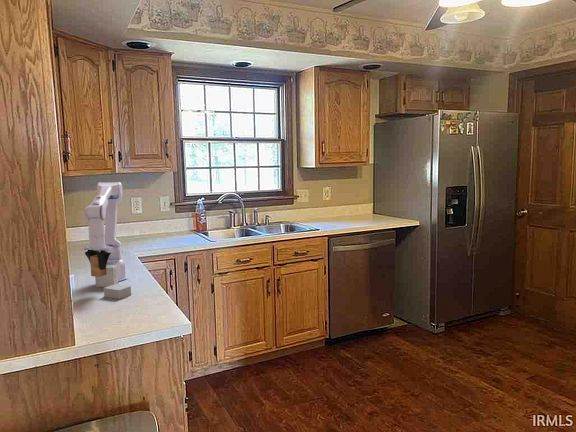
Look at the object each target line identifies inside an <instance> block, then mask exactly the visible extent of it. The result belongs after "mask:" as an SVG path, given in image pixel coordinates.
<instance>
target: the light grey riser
mask: <svg viewBox="0 0 576 432" xmlns="http://www.w3.org/2000/svg"><path fill="white" fill-rule="evenodd" d="M131 295H132V289H131V285H127V284H126V285H125V284H119V283H118V284H114V285H111V286H108V287H103V297H105V298H110V299H117V300H121V299H124V298H126V297H128V296H131Z"/></svg>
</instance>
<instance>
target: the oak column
mask: <svg viewBox="0 0 576 432" xmlns="http://www.w3.org/2000/svg"><path fill="white" fill-rule="evenodd" d="M89 264H90V276H91V277H95V276H96V277H100V276H103V275H107V273H106V269H104V270H100V266H99V260H98V257H97V255H93V256H90V261H89Z"/></svg>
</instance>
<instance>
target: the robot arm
mask: <svg viewBox="0 0 576 432" xmlns="http://www.w3.org/2000/svg"><path fill="white" fill-rule="evenodd" d="M123 189H124V188H123V184H122V182H121V181H118V182H116V181H115V182H100V181H99V182H98V183H97V185H96V193H97V195H96V196H94V197H93V200H92V201H91V204H90V205H87V206H86V207H85V209H84V210H85V211H84V212H85V213H84V214H85V215H84V216H85V219H86V224H87V225H88V226H87V227H88V241H89V244H82V250H83V251H85V252H84V255H85V256H86V258H87V259H88V261H89V262H90V256H93V255H97V257H98V260H99V266H100V270H104V269H106V265H117V276H118V282H121V281H124V280H128V277H127V276H126V264H125V262H124V260H123V256H124V255H123V251H124V250H123V244H122V242H121V241H119V240H118V239H117V224H118V223H117V222H118V221H117V220H118V208H119V207H118V206H119V204H120V203H122V202H123V194H124V193H123V192H124V190H123Z"/></svg>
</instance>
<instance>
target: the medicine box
mask: <svg viewBox="0 0 576 432" xmlns="http://www.w3.org/2000/svg"><path fill="white" fill-rule="evenodd" d="M106 273H107V275H103V276H100V277H96V276H94V277H95V281H94V282H95V288H105V287H108V286H111V285H114V284H119V281H118V276H117V265H106Z"/></svg>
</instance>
